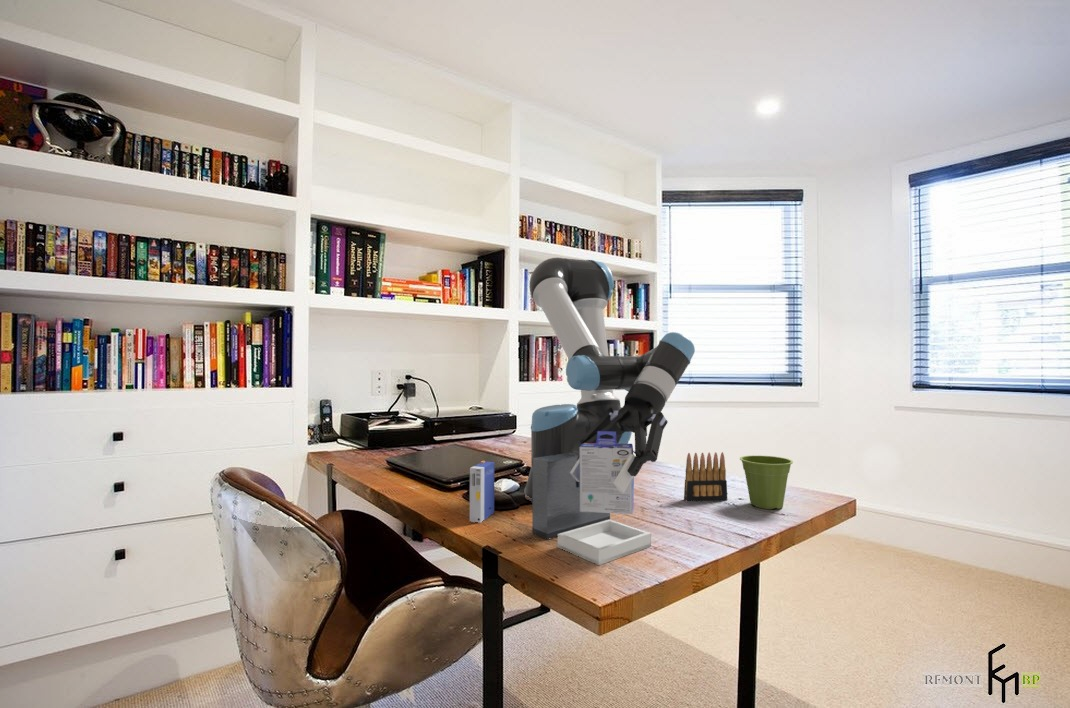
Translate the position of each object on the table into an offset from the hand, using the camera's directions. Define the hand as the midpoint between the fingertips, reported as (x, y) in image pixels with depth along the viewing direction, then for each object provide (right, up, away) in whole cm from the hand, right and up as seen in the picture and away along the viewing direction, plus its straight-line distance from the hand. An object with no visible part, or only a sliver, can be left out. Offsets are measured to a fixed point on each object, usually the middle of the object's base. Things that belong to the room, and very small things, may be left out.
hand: (595, 482), depth 94 cm
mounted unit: (-3, -13, +13) cm, 19 cm away
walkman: (-23, -13, +20) cm, 33 cm away
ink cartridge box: (+2, -6, +2) cm, 6 cm away
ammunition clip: (+32, -13, +35) cm, 49 cm away
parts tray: (+2, -13, +2) cm, 13 cm away
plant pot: (+45, -13, +30) cm, 56 cm away
